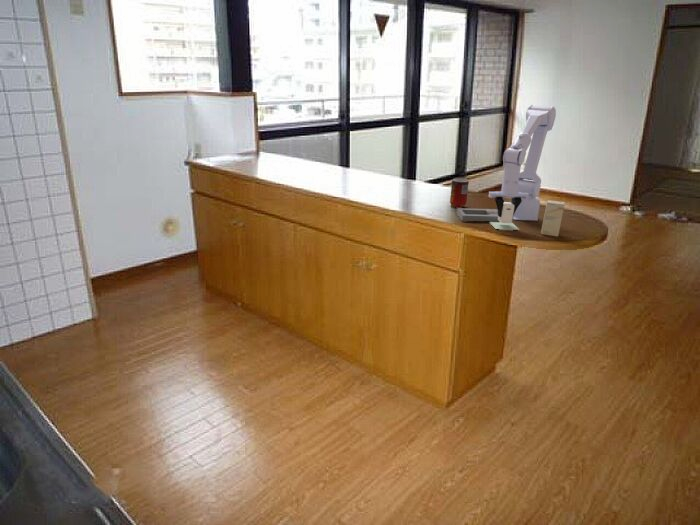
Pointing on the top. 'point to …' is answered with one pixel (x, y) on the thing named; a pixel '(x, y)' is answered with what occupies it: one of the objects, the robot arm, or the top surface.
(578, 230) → the top surface
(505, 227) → the mat
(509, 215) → the charger
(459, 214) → the grey tray
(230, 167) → the top surface
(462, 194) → the soda can
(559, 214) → the skincare box
